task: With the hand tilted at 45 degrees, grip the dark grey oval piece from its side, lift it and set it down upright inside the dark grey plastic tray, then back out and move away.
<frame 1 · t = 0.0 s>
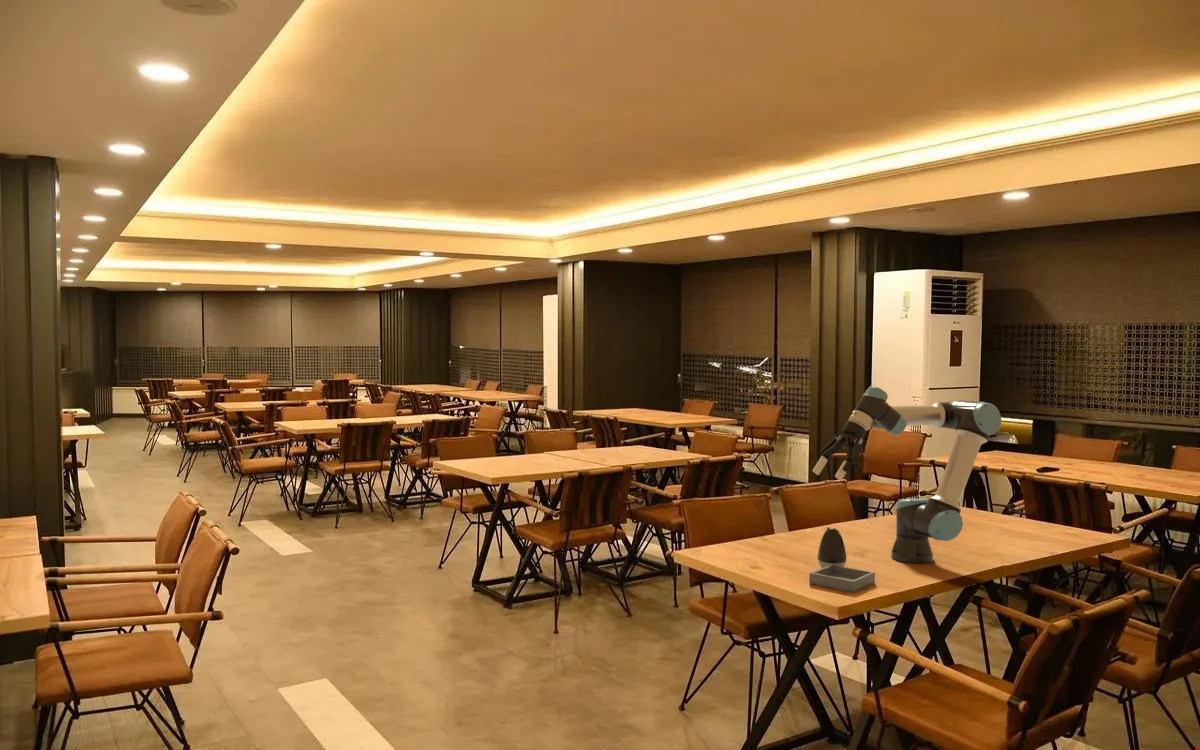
hand: (826, 475, 297), 36 cm above the table, tool tilted 35°, fingers open, 13 cm apart
grey tray: (842, 584, 290), on the table
dark grey oval piece: (831, 570, 310), on the table
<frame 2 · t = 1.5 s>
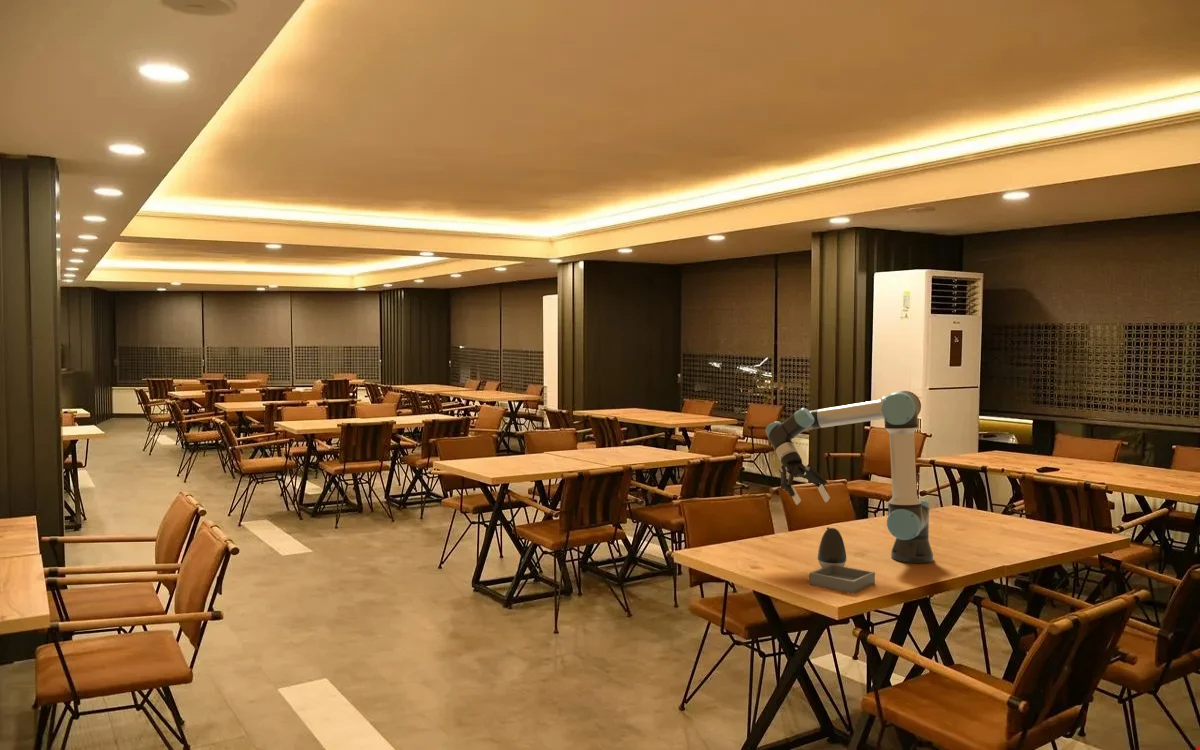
hand: (813, 501, 319), 23 cm above the table, tool tilted 45°, fingers open, 13 cm apart
nothing on the table moved.
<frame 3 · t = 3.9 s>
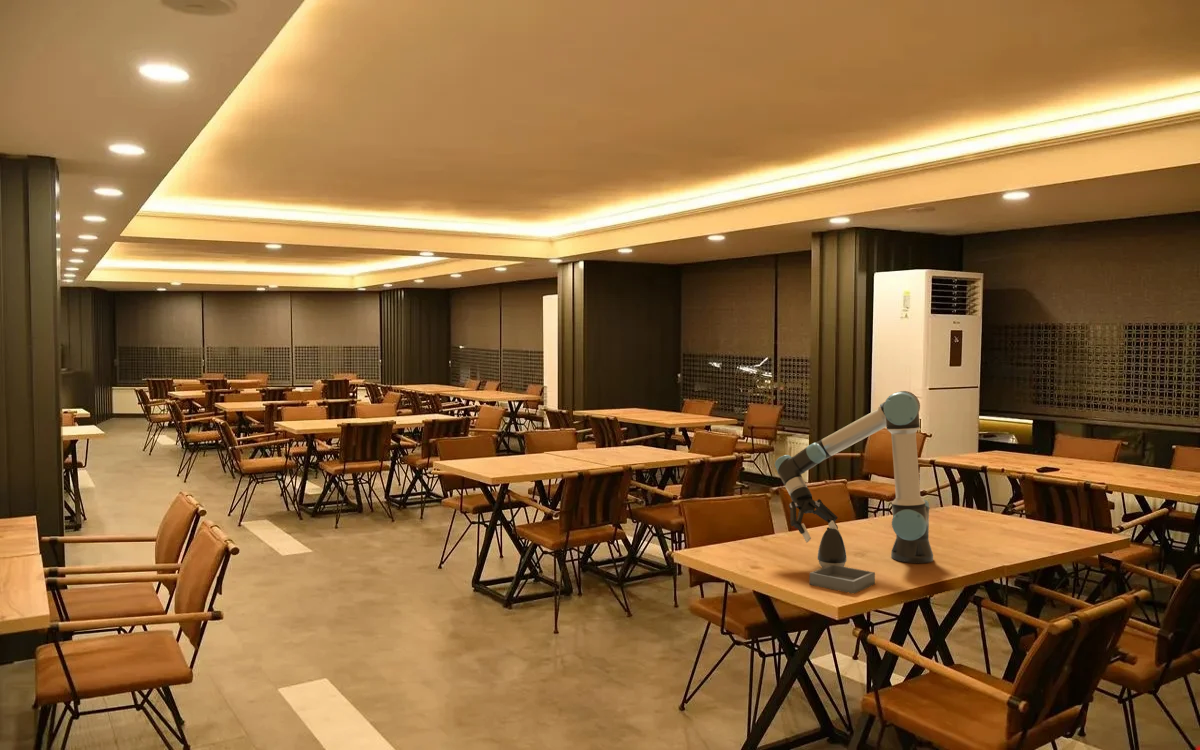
hand: (823, 538, 312), 11 cm above the table, tool tilted 45°, fingers open, 13 cm apart
nothing on the table moved.
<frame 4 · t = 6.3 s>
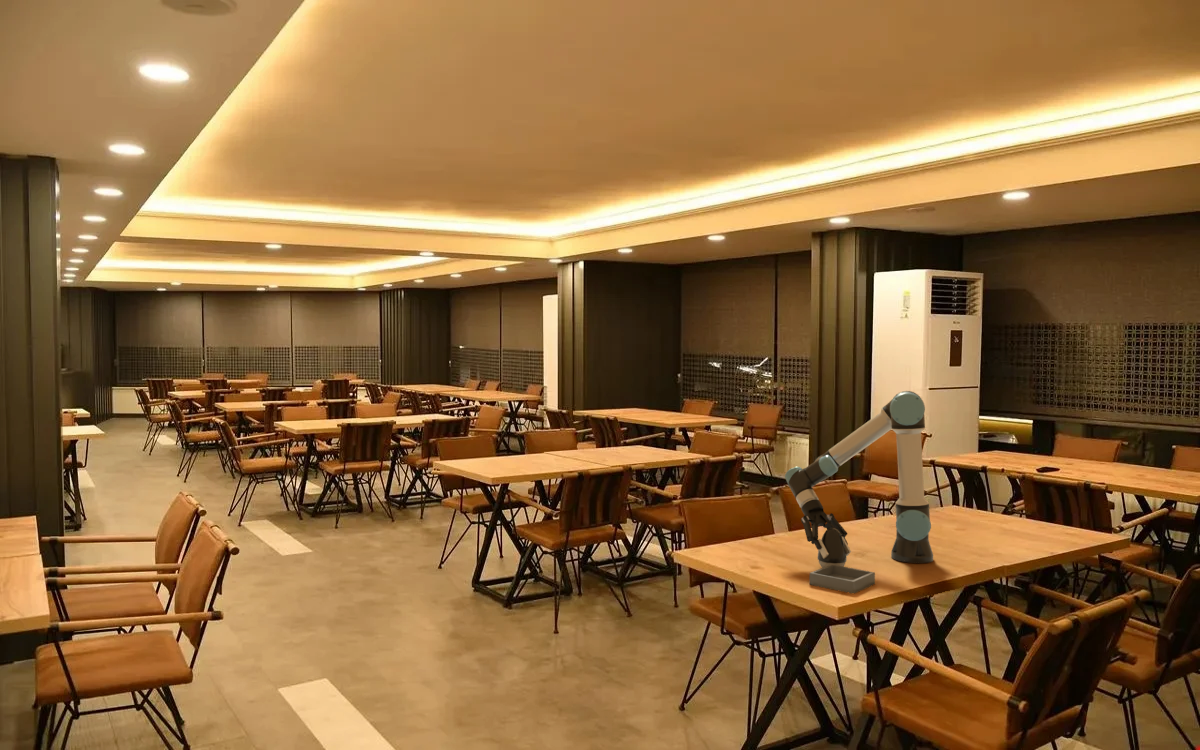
hand: (837, 555, 307), 6 cm above the table, tool tilted 45°, fingers closed on dark grey oval piece, 9 cm apart
dark grey oval piece: (831, 569, 310), on the table, touching gripper
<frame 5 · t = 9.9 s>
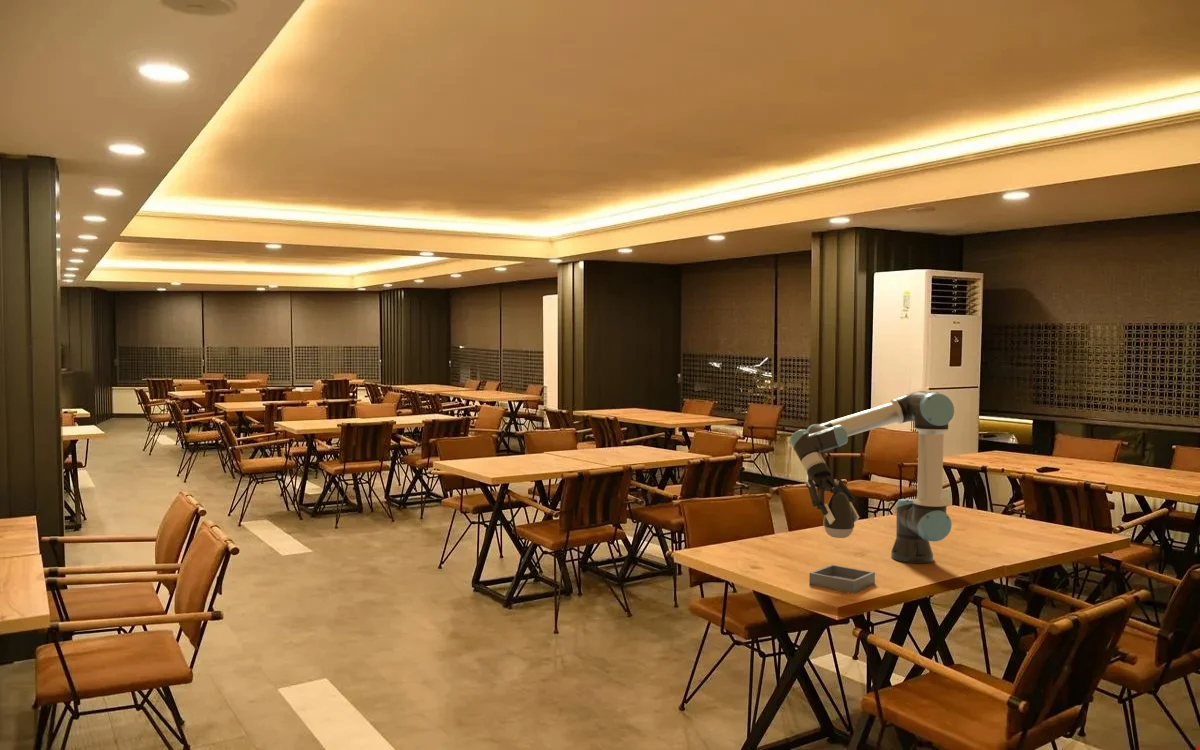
hand: (844, 520, 288), 22 cm above the table, tool tilted 45°, fingers closed on dark grey oval piece, 9 cm apart
dark grey oval piece: (838, 536, 291), point 16 cm above the table, touching gripper
when the fingers open (8 cm above the table, at t = 13.6 s): dark grey oval piece drops 1 cm, resting on grey tray.
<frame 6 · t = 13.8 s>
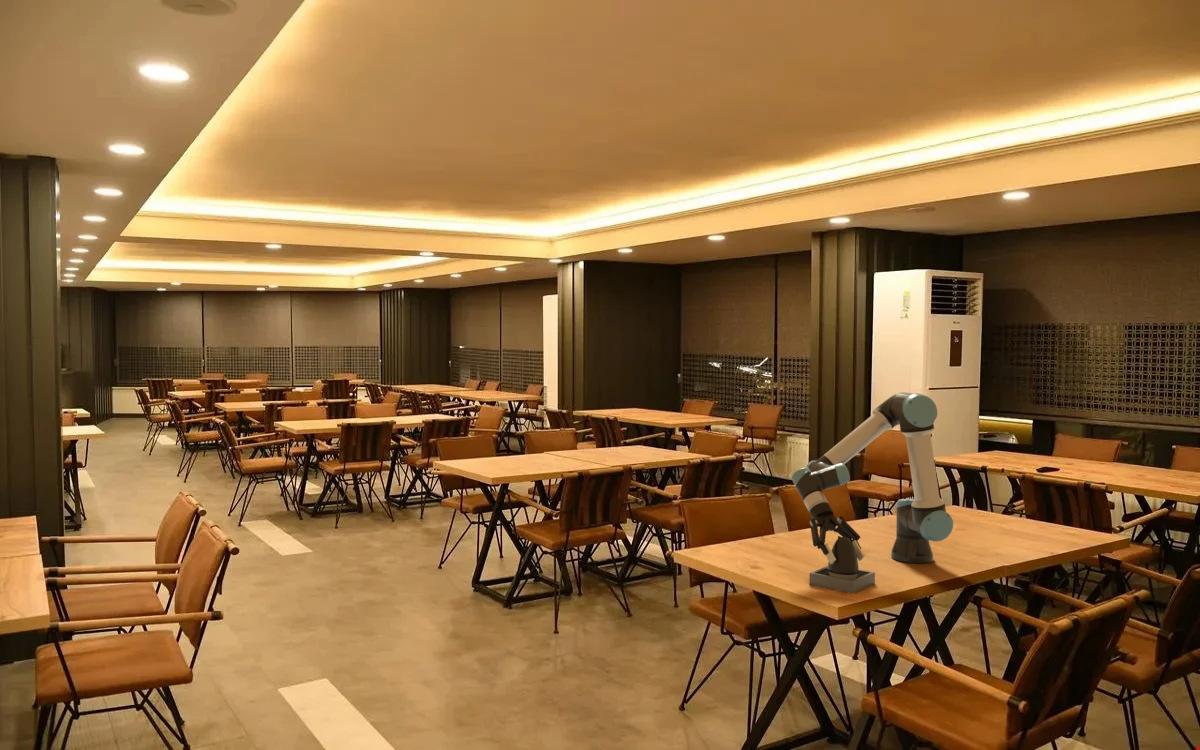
hand: (847, 560, 287), 9 cm above the table, tool tilted 45°, fingers open, 11 cm apart
dark grey oval piece: (842, 581, 290), point 1 cm above the table, touching grey tray
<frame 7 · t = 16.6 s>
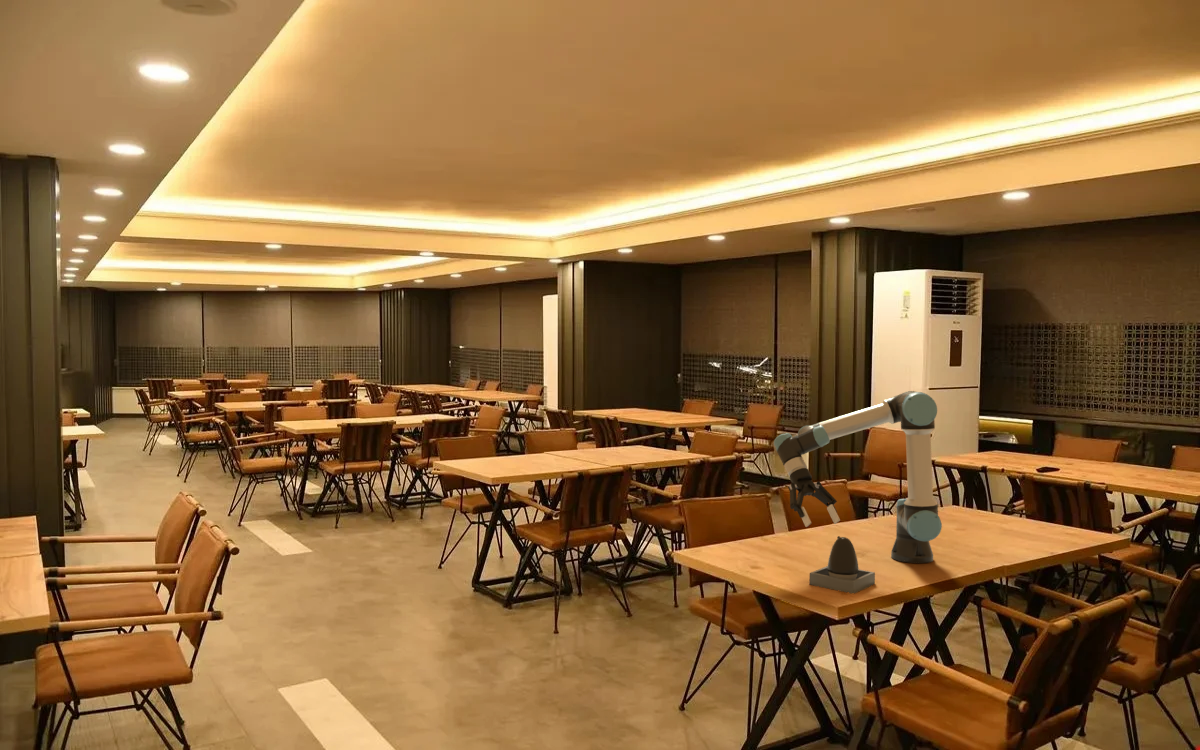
hand: (823, 523, 301), 18 cm above the table, tool tilted 40°, fingers open, 13 cm apart
nothing on the table moved.
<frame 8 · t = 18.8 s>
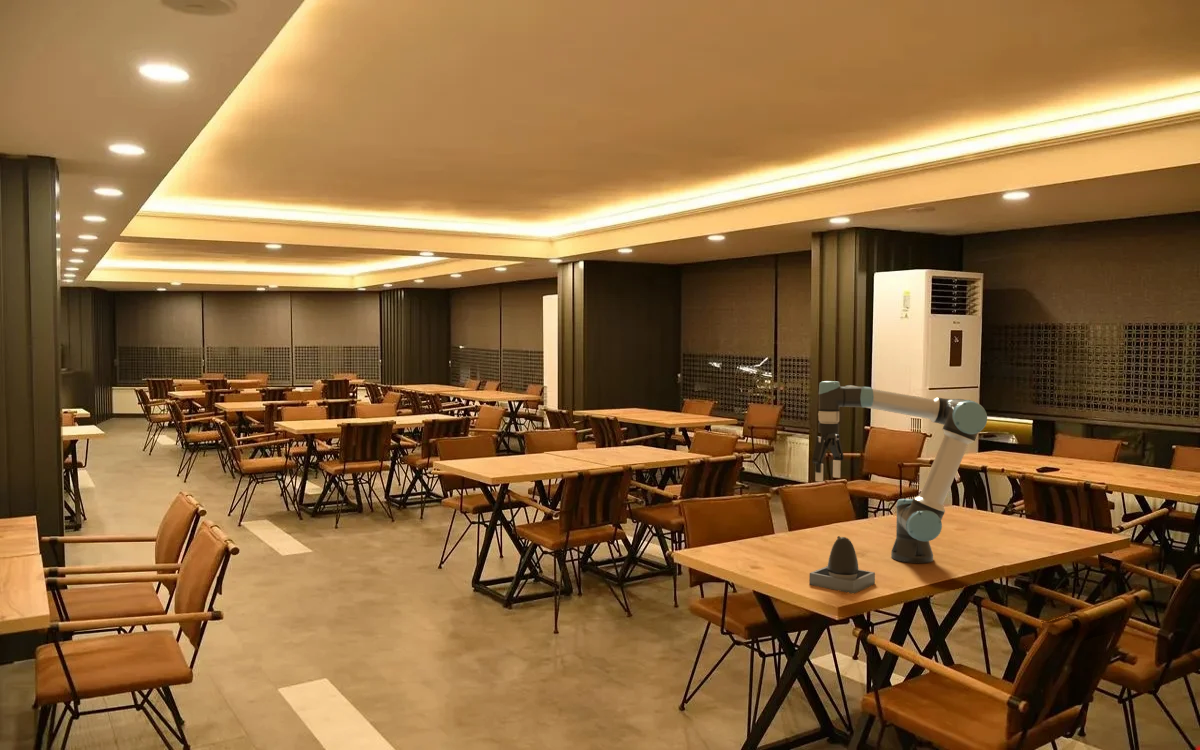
hand: (828, 479, 316), 32 cm above the table, tool pointing down, fingers open, 13 cm apart
nothing on the table moved.
at the end: dark grey oval piece inside the target area on the grey tray (0.2 cm from its centre), point 0.8 cm above the grey tray's base; dark grey oval piece tilted 0°; the gripper is holding nothing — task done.
